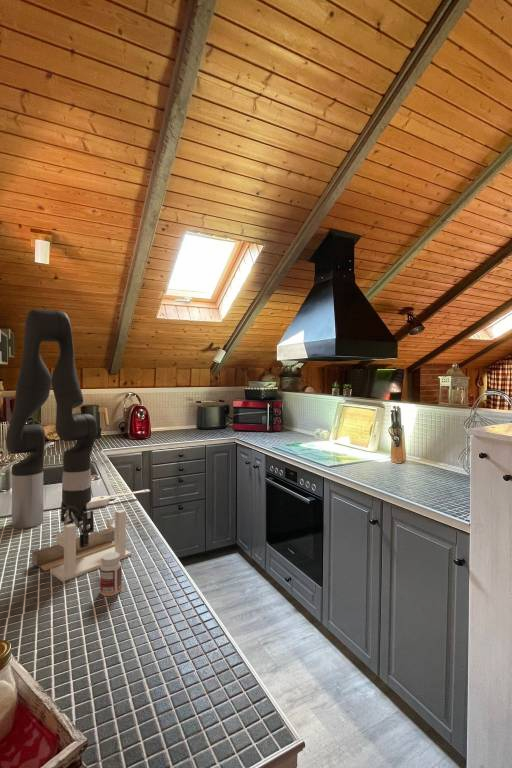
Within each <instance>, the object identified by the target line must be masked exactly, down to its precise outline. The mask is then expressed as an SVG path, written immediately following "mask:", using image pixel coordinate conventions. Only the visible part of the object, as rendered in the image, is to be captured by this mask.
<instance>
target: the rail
mask: <svg viewBox="0 0 512 768" xmlns="http://www.w3.org/2000/svg"><path fill="white" fill-rule="evenodd" d="M109 542H115V531H113V530H111V529H109V528H106V529H103V530H99V531H96V532H91V533H89V545H88V546H87V547H84V548H81V547H80V537H76V554H77V553H80V552H83V551H86V550H89V549H92V548H95V547H97V546H100V545H103V544H106V543H109ZM62 558H64V547H62V546H61V545H59V544H57V543H56V544H54V545H51V546H48V547H44V548H41V549H37V550H35V551H32V552H31V564H32V565H33V566H35V567H36V568H40V567H39V566H42V565H44V564H47V563H50V562H53V561H56V560H59V559H62Z"/></svg>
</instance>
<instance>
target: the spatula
mask: <svg viewBox="0 0 512 768" xmlns="http://www.w3.org/2000/svg"><path fill="white" fill-rule="evenodd" d="M149 492H151V490H150V489H142V490H138V491H137V490H136V491H130V492H123V493H119V494H118V493H117V494H112V495H100V496H95V497H91V501H90V502H88V503H87V505H86V507H87V510H89V509H95V508H99V507H105V506H107V505H108V506H109V504H110V499H112V498H117V497H123V496H129V495H134V494H135V495H137V494H140V493H141V494H143V493H149Z"/></svg>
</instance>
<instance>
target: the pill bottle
mask: <svg viewBox="0 0 512 768" xmlns="http://www.w3.org/2000/svg"><path fill="white" fill-rule="evenodd" d="M122 574H123V573H122V562H121V560H120V554H119V553H117V552H110V553H106V554H104V555H103V556H102V564H101V566H100V568H99V576H100V577H99V585H100V586H99V589H100V590H99V592H100V594H101V596H104V597H111V596H116V595H118V594H119V593H120V592H121V591H122V582H123V581H122V580H123V579H122Z"/></svg>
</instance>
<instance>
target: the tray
mask: <svg viewBox="0 0 512 768" xmlns="http://www.w3.org/2000/svg"><path fill="white" fill-rule="evenodd" d="M112 547H115V542H114V541H112V542H109V543H106V544H103V545H100V546H97V547H95V548H92V549H89V550H86V551H83V552H80V553H77V554H76V560H78V559H81V558H84V557H87V556H89V555H92V554H95V553H98V552H101V551H103V550H106V549H109V548H112ZM61 565H64V558H62V559H59V560H56V561H53V562H50V563H47V564H44V565H42V566H39V567H38V568H40V569H41V570H43V571H48V570H50V569H53V568H56V567H58V566H61Z"/></svg>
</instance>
